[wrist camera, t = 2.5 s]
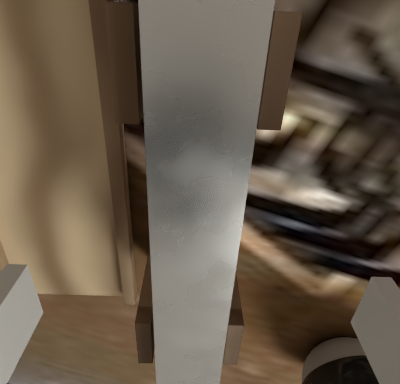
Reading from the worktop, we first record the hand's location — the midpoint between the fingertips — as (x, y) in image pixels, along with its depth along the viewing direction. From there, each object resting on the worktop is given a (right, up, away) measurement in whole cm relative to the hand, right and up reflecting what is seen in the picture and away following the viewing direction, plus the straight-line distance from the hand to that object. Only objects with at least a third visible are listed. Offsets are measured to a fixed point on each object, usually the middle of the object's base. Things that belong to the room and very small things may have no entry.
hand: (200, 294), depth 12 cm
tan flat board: (-11, +6, +10) cm, 17 cm away
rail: (0, +2, +4) cm, 4 cm away
